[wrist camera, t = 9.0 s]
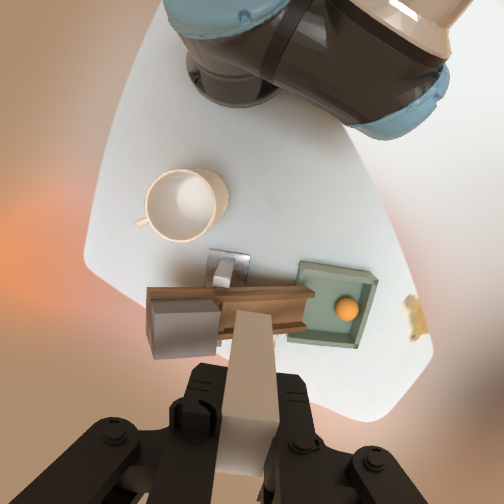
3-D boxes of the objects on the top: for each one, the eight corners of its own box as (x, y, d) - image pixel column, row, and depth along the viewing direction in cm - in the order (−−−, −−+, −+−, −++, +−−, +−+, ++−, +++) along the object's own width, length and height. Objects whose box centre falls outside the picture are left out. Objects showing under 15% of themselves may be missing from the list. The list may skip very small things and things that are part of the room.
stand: (210, 248, 46) (197, 267, 36) (250, 254, 46) (248, 275, 37) (202, 315, 49) (190, 346, 39) (239, 321, 49) (235, 354, 39)
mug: (161, 239, 46) (131, 260, 34) (145, 185, 44) (109, 190, 32) (235, 218, 45) (228, 233, 33) (219, 161, 43) (206, 156, 31)
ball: (364, 300, 45) (345, 292, 47) (355, 305, 43) (334, 296, 45) (358, 321, 46) (339, 312, 48) (349, 327, 43) (328, 318, 46)
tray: (300, 260, 46) (304, 268, 42) (369, 271, 46) (378, 280, 42) (285, 329, 49) (287, 341, 45) (351, 336, 49) (357, 348, 45)
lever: (146, 285, 34) (155, 309, 29) (304, 283, 44) (331, 301, 39) (146, 374, 37) (154, 405, 32) (286, 359, 47) (308, 381, 42)
